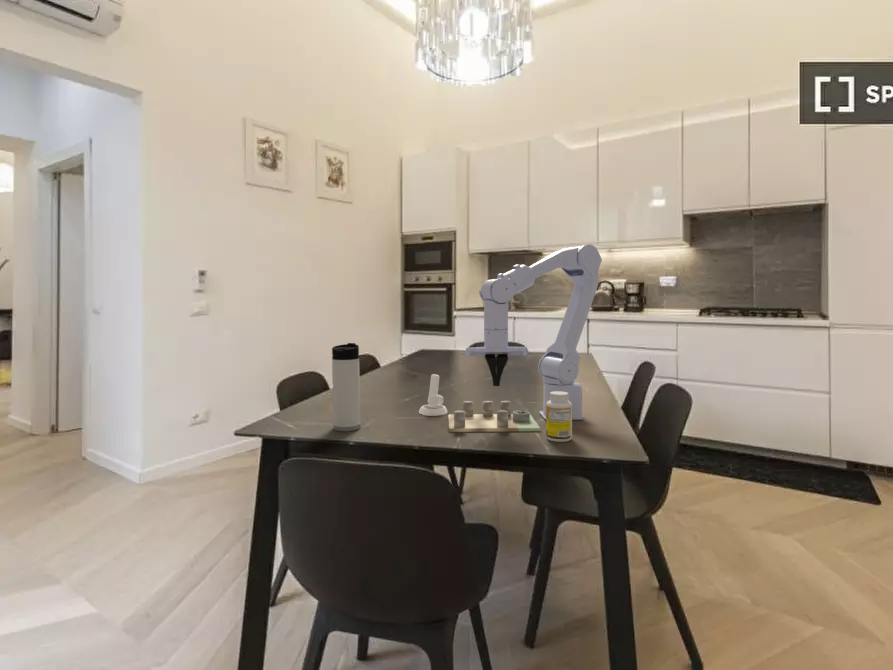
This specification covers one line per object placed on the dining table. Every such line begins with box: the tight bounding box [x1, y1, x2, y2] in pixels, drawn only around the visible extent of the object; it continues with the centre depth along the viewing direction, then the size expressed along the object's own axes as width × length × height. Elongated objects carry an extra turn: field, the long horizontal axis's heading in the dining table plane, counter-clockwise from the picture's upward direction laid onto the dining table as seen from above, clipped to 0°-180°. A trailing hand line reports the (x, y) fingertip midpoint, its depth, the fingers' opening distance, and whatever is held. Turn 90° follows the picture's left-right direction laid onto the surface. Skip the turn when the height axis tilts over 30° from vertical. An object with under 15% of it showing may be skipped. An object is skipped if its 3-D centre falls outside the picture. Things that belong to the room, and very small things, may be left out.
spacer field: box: [447, 400, 520, 433], centre depth 128 cm, size 16×14×4 cm
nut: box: [512, 410, 531, 423], centre depth 128 cm, size 5×4×2 cm
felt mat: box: [511, 413, 541, 432], centre depth 128 cm, size 5×14×1 cm, turn 0°
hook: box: [418, 373, 448, 417], centre depth 143 cm, size 8×12×7 cm
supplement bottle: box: [545, 391, 573, 443], centre depth 115 cm, size 6×6×10 cm
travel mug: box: [331, 342, 361, 433], centre depth 124 cm, size 6×7×20 cm
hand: (496, 385), depth 128 cm, fingers closed
